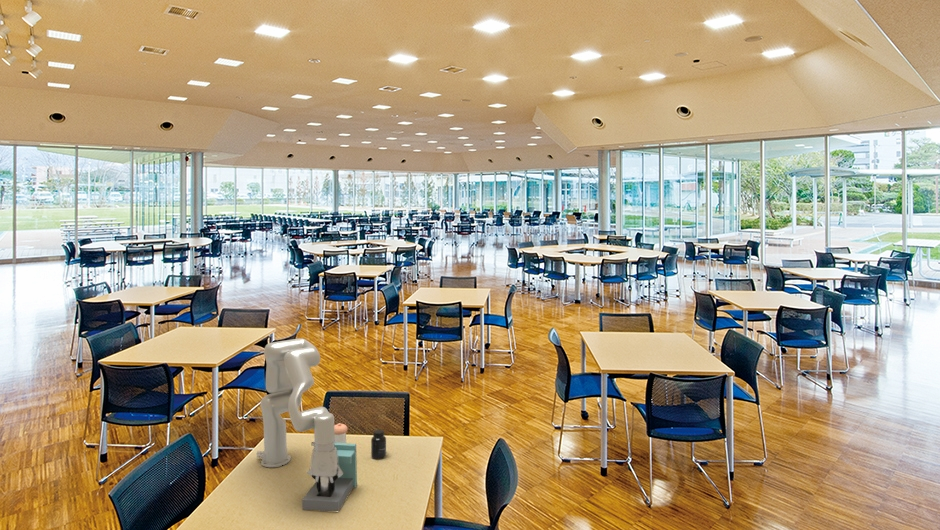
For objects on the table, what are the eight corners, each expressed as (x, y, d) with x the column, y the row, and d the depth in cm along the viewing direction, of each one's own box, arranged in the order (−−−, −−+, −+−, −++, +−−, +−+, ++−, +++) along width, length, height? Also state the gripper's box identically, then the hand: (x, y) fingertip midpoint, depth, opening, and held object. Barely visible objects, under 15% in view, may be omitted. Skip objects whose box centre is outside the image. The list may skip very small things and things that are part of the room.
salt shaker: (350, 461, 243) (350, 420, 241) (345, 469, 236) (344, 427, 234) (335, 460, 244) (334, 420, 242) (329, 468, 236) (328, 426, 235)
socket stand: (299, 509, 203) (298, 464, 202) (319, 483, 223) (318, 441, 221) (340, 512, 202) (339, 466, 200) (356, 485, 222) (356, 443, 220)
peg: (319, 500, 206) (318, 471, 205) (322, 495, 210) (322, 466, 209) (329, 501, 206) (328, 471, 205) (332, 496, 210) (332, 466, 209)
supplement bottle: (383, 460, 244) (382, 435, 243) (369, 458, 246) (368, 433, 244) (388, 453, 251) (388, 429, 250) (374, 452, 252) (374, 427, 251)
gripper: (299, 448, 203) (301, 494, 205) (342, 450, 202) (343, 497, 204) (307, 440, 211) (308, 484, 213) (348, 442, 209) (349, 487, 211)
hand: (325, 490), depth 208 cm, fingers closed on peg, 4 cm apart
